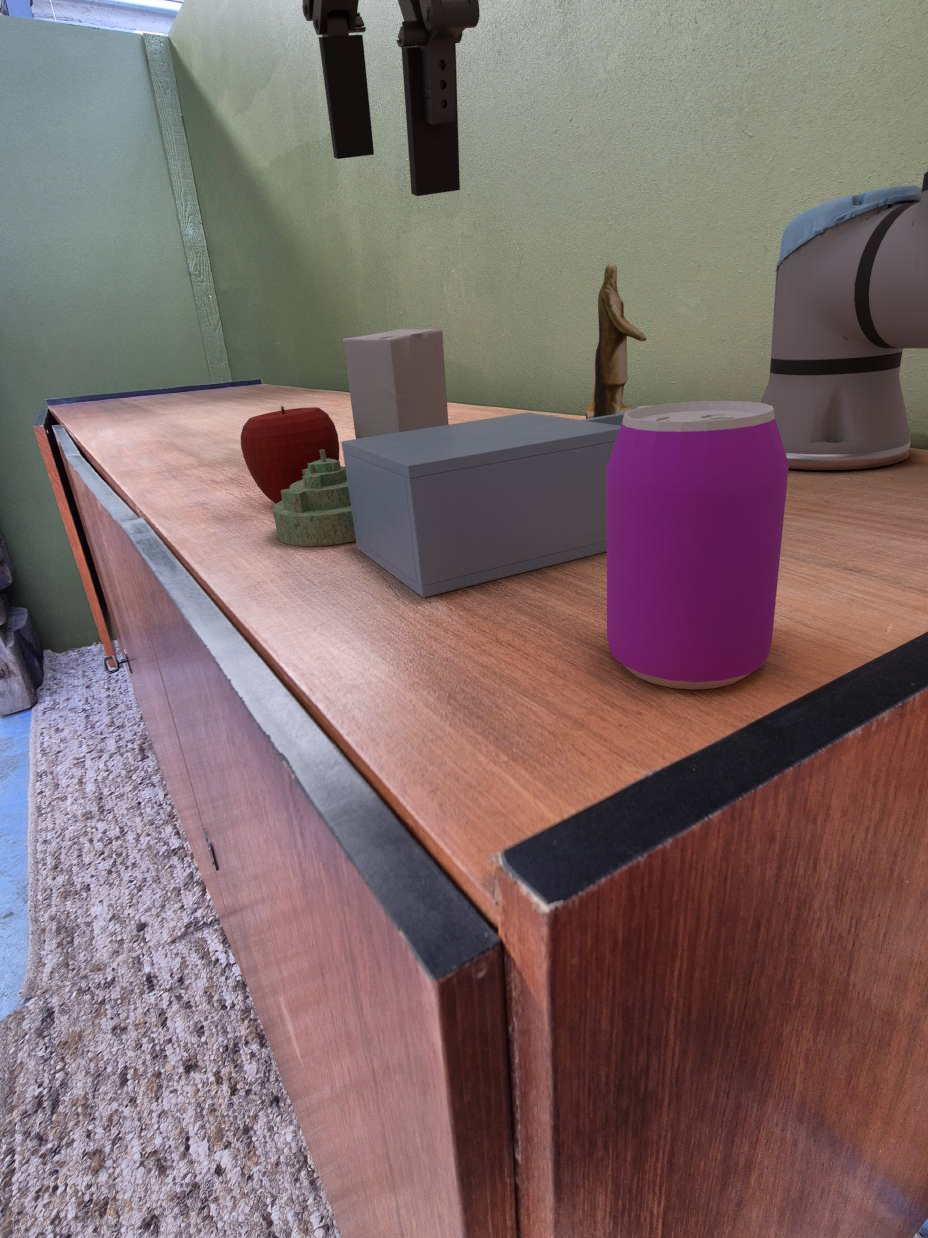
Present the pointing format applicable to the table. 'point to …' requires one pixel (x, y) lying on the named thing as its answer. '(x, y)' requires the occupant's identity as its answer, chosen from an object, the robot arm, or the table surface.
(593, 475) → the cabinet
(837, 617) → the table surface
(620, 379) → the figurine
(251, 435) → the apple
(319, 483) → the decorative artifact
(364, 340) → the cosmetic box
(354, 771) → the table surface
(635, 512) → the beverage can
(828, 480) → the table surface
